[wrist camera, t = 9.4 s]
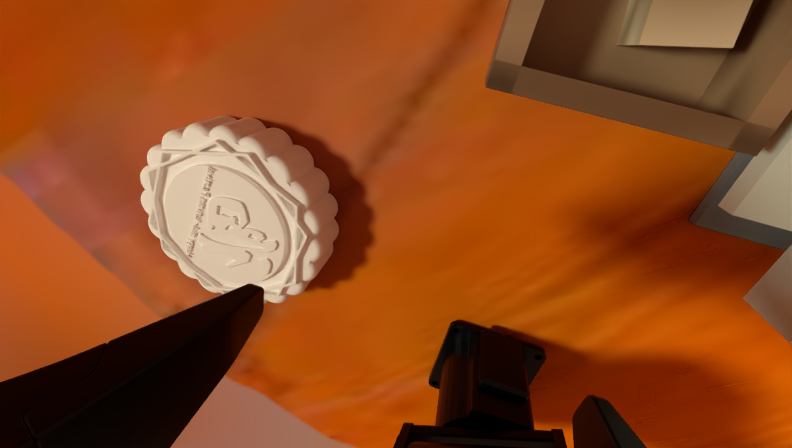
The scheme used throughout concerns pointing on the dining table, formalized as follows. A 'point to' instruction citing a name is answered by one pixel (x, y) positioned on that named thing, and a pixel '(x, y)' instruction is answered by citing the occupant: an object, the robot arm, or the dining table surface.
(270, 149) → the mooncake
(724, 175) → the mat
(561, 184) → the dining table surface
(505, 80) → the tub
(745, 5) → the block
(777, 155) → the lid
